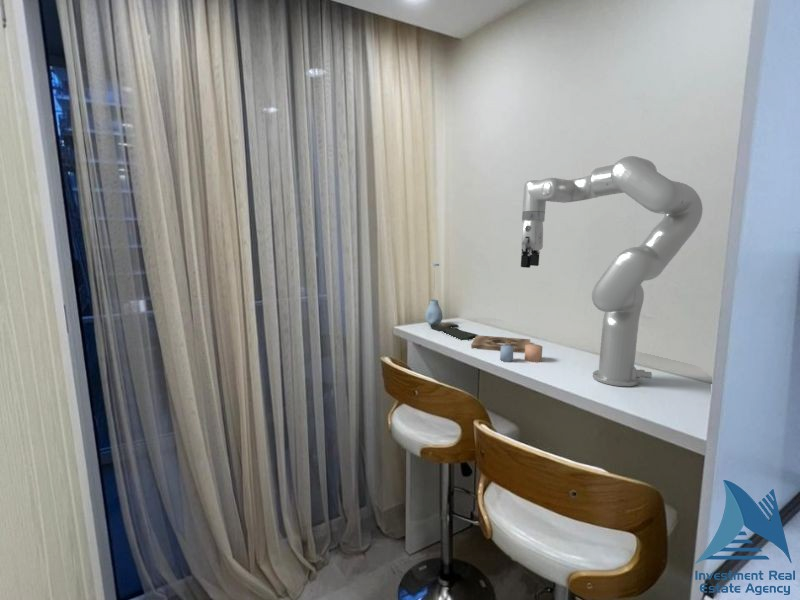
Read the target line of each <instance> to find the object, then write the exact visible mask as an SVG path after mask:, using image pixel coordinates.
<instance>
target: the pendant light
mask: <svg viewBox="0 0 800 600" xmlns="http://www.w3.org/2000/svg"><path fill="white" fill-rule="evenodd" d="M439 266H440V263H430V267H439ZM433 272H434V274H433V275H434V277H433V278H434V281H433V282H434V283H433V284H434V285H433V288H434V289H433V290H435V283H436V281H435V280H436V279H435V276H436V271H433ZM424 319H425V321H426V323H427V325H431V324H436V325H441V323H442V321H443V310H442V309H441V307H440V305H439V300H438V299H431V300H430V301H429V304H428V306H427V308H426V310H425V318H424Z"/></svg>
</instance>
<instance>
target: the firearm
mask: <svg viewBox="0 0 800 600" xmlns="http://www.w3.org/2000/svg"><path fill="white" fill-rule="evenodd" d="M429 325H430V324H429ZM451 327H452V328H451ZM429 328H431V329H433V330H436V331H439V332H440V331H443V332H444V333H446V334H445V335H447V334H449V335H451V336H450V337H452V336H453V337H452V338H454V337H456V338H455V339H457V338H458V339H457V340H459V339H460V341H462V340H468V341H470V340H469V339H471V340H474V339H473V338H475V337H476V335H478V334H476V333H473V332H470V331H469V332H468V331H466V330H461V329H460V328H459V324H456V323H450V322H448V323H443V324H439V325H436V324H431V325H430V327H429ZM443 332H442V333H443ZM444 333H443V334H444ZM449 335H448V336H449Z"/></svg>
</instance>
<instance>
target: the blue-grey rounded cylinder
mask: <svg viewBox="0 0 800 600" xmlns="http://www.w3.org/2000/svg"><path fill="white" fill-rule="evenodd" d="M513 350H514V347H513V346H509V345H502V346H501V351H499V352H500V357H499V361H500V360H501V361H500V362H502V361H503V363H512V362H514V352H513Z"/></svg>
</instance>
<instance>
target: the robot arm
mask: <svg viewBox="0 0 800 600" xmlns="http://www.w3.org/2000/svg"><path fill="white" fill-rule="evenodd" d="M523 185H524V187H523V197H522V198H523V200H522V202H523V203H522V214H521V222H522V223H523V224H522V233H521V254H520V255H521V256H520V257H521V258H520V267H521V268H527V269H528V268H531V266H534V267H538V266H539V265H540V252H541V250H542V249H543V247H544V246H543V244H544V242H543V241H544V222H545V220H546V219H545V217H546V207H547V206H546V205H547V204H546V203H547V202H553V203H563V204H564V203H575V202H579V201H580V202H581V201H587V200H590V199H591V200H592V199H596V198H598V197H604V196H605V197H606V196H609V195H616V194H617V195H618V194H623V193H624V194H625V195H627V196H628V197H629V198H631V199H632V200H634V201H635V202H636V203H637V204H639V205H640V206H642V207H643V208H644V209H646V210H647V211H650V212H652V213H655V214H660V215H664V216H663V218H662V220H661V221H660V222H659V223H658V224H657V225H655V227H654V228H653V229H652V230H651V231H650V233H649V234H648V235H647V237H646V238H645V239H644V240H643V242H642V243H641V244H640V245H639V246H636V247H635V246H634V247H629V248H626V249H624V250H623V251H621V252H620V253H619V254H618V255H617V256H616V257H615V258H614V259H613V261H612V262H611V263H610V264H609V266H608V268H606V270H605V271H604V273H603V274H602V275H601V277H600V278H599V279H598V281H597V282H596V284H595V285H594V287H593V290H592V293H591V300H592V304H593V305H594V307H596V308H597V310H600V311H601V312H604V314H603V319H602V320H603V321H602V328H601V336H600V337H601V339H600V349H599V360H598V363H599V364H598V369H597V370H594V371H593V372H592V377H593V379H594V380H595V381H598V382H600V383H602V384H607V385H610V386H616V387H634V386H638V385H639V382H640V381H639V380H640V378H644V379H652V377H653V373H652V371H645V369H637V368H636V367H635V362H636V352H637V342H638V340H637V339H638V332H639V324H640V317H641V311H642V307H643V304H644V298H645V292H644V288H643V286H642V284H643V282H646V281H650V280H653V279H656V278H657V277H659V276H660V275H661V274H662V272H663V271H664V270H665V268H666V267H667V266H668V265H669V264H670V262H671V261H672V260H673V259H674V257H675V256H676V255H677V254H678V253H679V251H680V250H681V248H682V247H683V246H684V245H685V244H686V242H687V241H688V240H689V239H690V237H692V235H693V233H695V231H696V229H697V228H698V226H699V224H700V222H701V219H702V217H703V210H704V209H703V203H702V199H701V197H700V196H699V194H698V192H697V191H696V190H695V188H693V187H692V186H690V185H688V184H686V183H684V182H680V181H675V180H671V179H669V178H667V177H666V176H664V175H663V174H661V173H660V172H658V171H657V167H656V165H655V164H654V163H653V162H652V161H651V160H649V159H646V158H642V157H639V156H634V155H630V156H626V157H625V156H624V157H622V158H620V159H619V160H617V161H616V162H615V163H614V164H611V165H606V166H600V167H597V168H594V169H593V170H592V172H591V174H590V175H589V174H588V175H587V176H583V177H578V178H573V179H565V178H557V177H548V178H543V179H539V180H538V179H537V180H535V179H534V180H528V181H526V182H525V183H524V184H523Z"/></svg>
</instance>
